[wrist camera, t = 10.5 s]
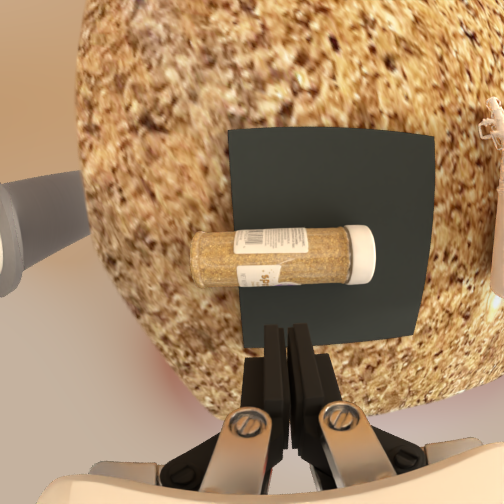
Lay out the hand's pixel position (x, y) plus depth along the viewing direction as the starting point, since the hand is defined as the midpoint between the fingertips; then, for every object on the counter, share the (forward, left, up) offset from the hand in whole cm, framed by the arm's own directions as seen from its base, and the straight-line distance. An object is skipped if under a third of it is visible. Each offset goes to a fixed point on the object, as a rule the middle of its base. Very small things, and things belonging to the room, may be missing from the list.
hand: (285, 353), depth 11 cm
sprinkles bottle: (-7, 0, -12) cm, 13 cm away
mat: (+6, 0, -14) cm, 15 cm away
